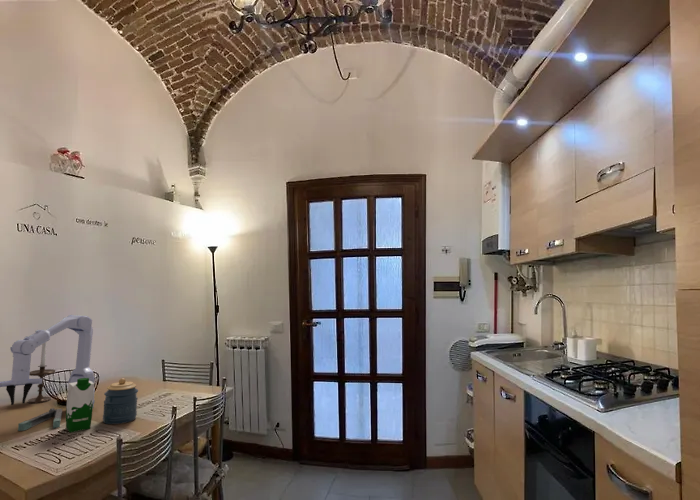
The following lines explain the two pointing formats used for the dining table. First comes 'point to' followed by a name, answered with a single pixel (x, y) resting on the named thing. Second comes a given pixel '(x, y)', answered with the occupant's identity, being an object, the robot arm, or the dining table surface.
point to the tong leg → (34, 421)
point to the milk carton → (79, 405)
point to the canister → (120, 402)
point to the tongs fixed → (56, 417)
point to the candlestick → (41, 374)
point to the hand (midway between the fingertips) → (18, 403)
